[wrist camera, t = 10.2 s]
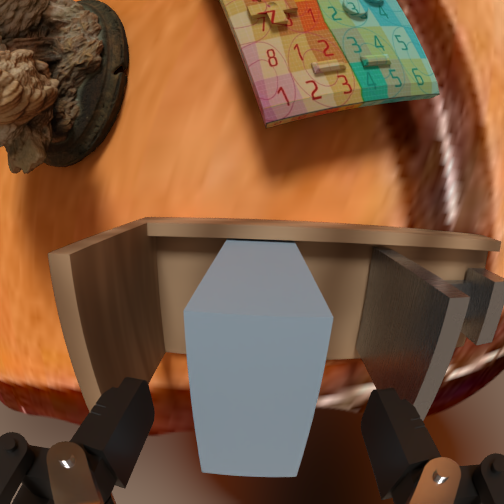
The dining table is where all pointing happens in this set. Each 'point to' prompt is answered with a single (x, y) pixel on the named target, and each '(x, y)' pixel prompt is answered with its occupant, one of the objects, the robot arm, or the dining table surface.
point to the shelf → (194, 269)
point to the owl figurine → (58, 79)
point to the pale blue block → (255, 358)
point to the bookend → (422, 323)
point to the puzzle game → (327, 55)
